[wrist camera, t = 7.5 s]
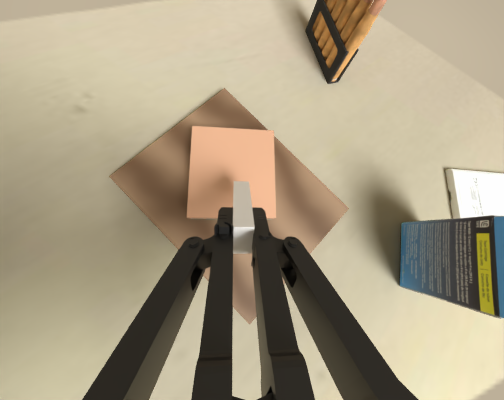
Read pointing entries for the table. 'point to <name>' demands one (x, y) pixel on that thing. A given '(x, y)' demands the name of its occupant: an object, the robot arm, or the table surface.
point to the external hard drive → (475, 193)
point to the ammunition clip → (340, 32)
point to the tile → (230, 169)
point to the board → (181, 228)
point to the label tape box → (456, 261)
